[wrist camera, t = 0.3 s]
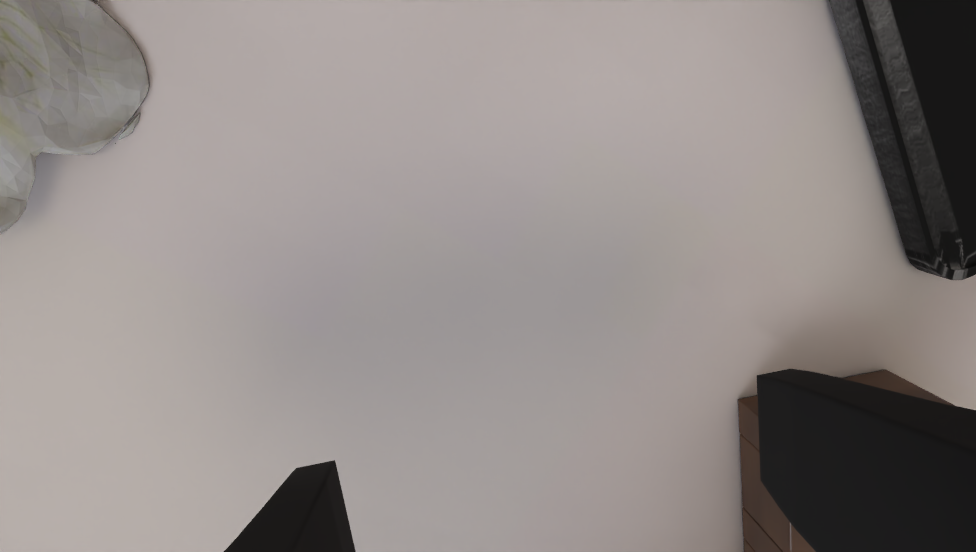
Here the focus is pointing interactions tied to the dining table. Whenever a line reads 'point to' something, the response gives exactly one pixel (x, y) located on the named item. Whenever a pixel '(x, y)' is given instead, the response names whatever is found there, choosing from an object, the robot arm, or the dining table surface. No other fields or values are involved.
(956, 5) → the phone
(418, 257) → the dining table surface
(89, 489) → the dining table surface
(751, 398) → the marker stand
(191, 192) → the dining table surface
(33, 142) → the artificial flower
